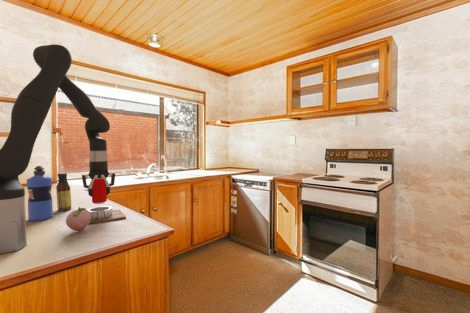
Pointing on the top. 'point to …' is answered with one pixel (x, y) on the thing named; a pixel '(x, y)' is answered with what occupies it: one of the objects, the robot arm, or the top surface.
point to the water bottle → (39, 196)
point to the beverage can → (99, 191)
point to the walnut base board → (115, 216)
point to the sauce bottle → (63, 193)
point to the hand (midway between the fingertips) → (99, 195)
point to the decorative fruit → (78, 219)
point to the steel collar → (100, 212)
